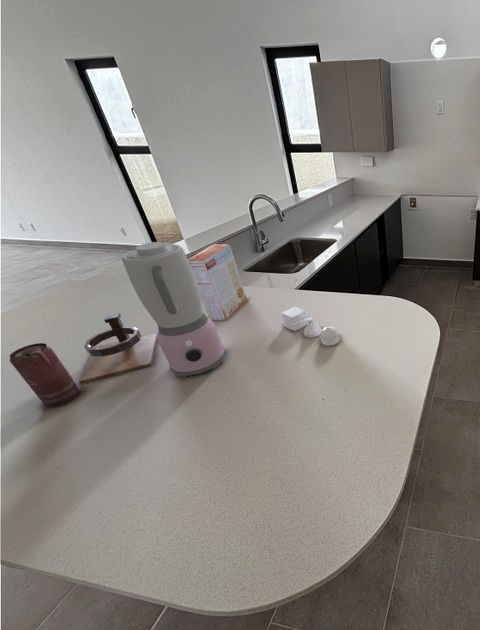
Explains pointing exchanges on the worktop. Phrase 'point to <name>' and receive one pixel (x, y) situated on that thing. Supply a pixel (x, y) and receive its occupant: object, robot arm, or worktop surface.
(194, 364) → the blender
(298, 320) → the container set
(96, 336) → the stand
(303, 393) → the worktop surface
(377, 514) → the worktop surface
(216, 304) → the cracker box
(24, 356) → the can
